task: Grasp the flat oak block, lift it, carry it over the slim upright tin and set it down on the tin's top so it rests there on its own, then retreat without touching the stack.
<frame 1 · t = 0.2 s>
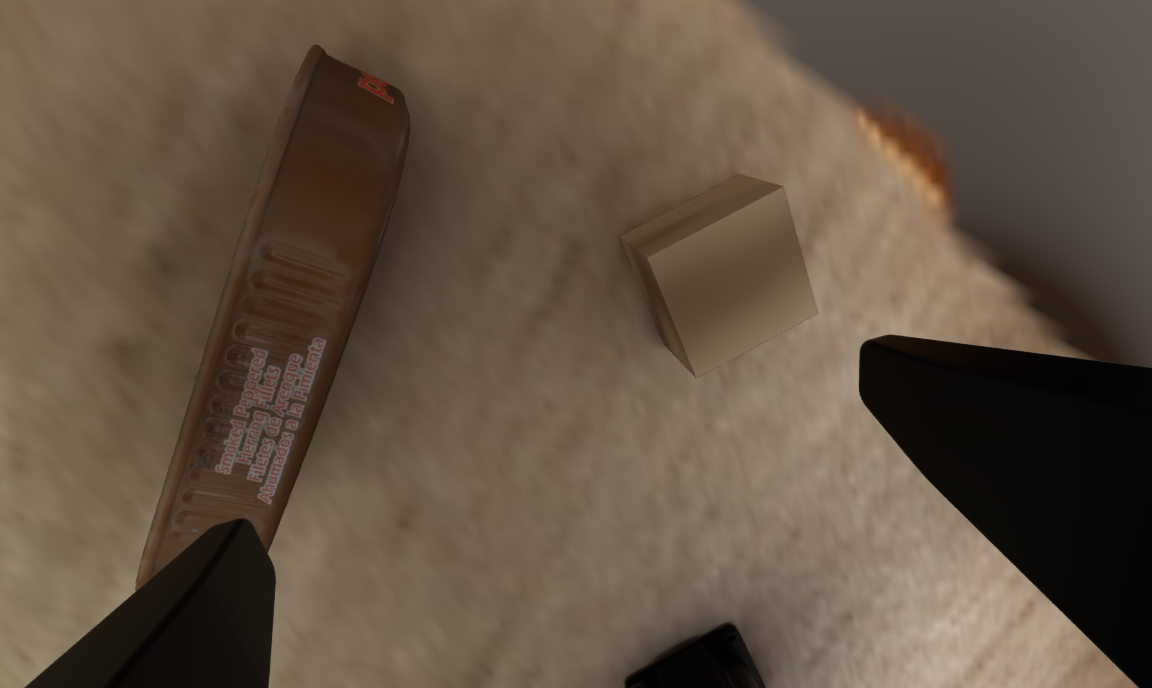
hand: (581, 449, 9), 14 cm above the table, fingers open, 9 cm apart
oak block: (698, 262, 24), on the table
tin: (301, 290, 21), on the table
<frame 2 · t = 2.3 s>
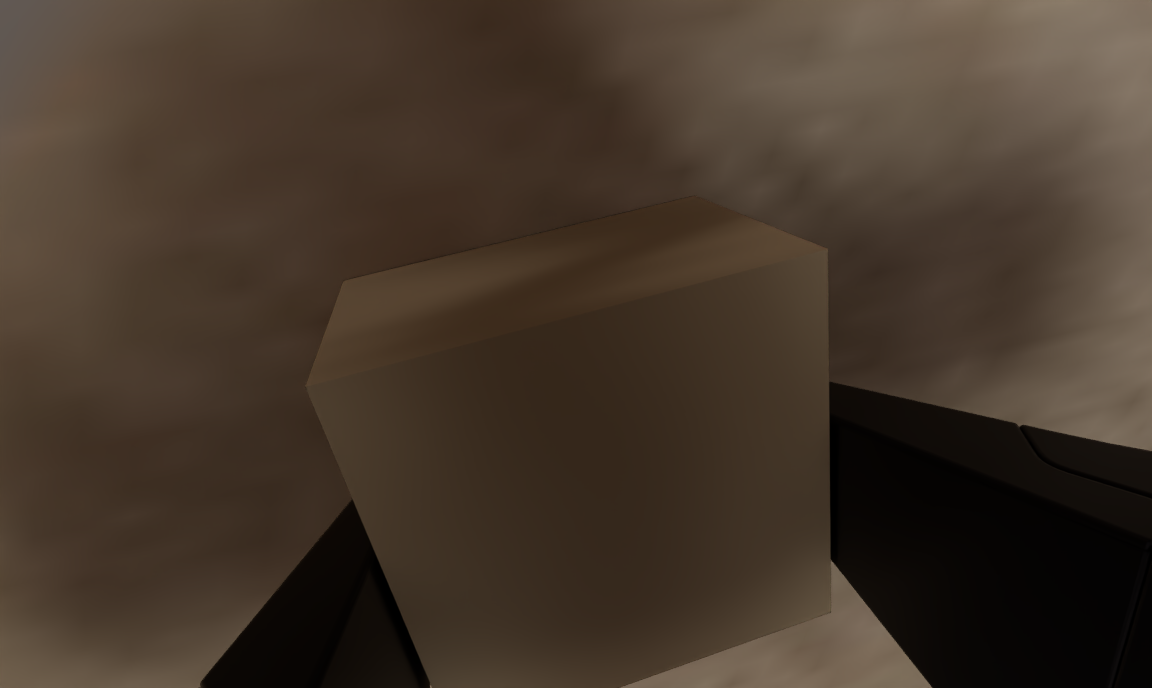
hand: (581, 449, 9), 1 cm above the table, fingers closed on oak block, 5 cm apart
oak block: (560, 391, 10), on the table, touching gripper
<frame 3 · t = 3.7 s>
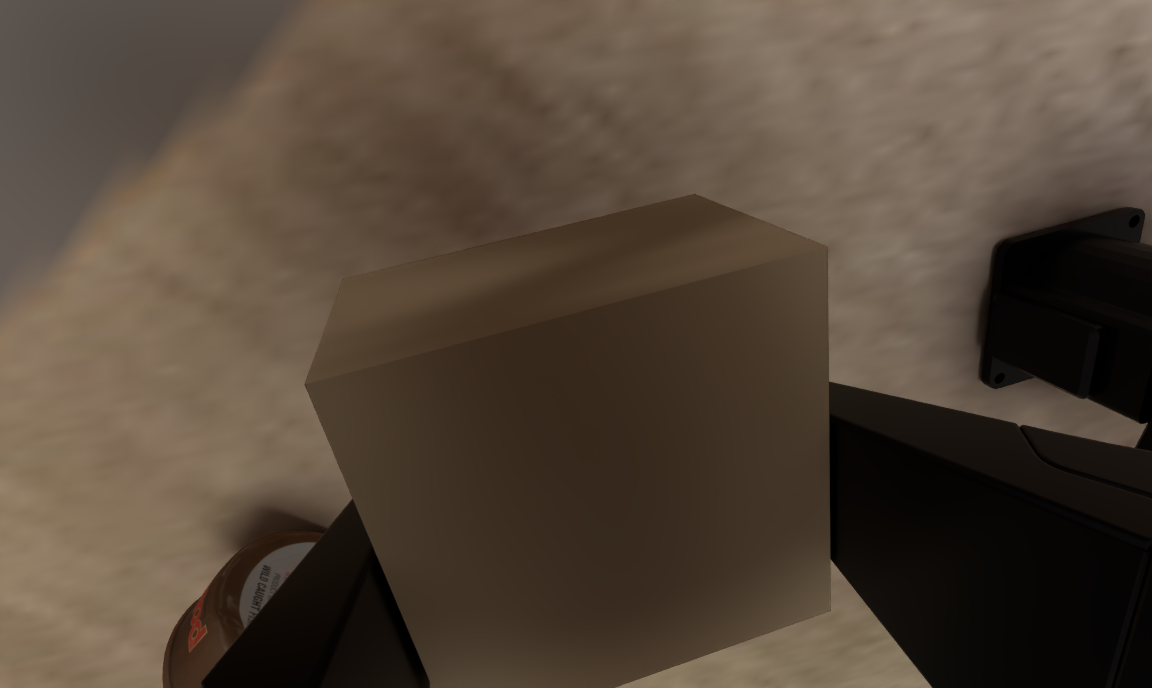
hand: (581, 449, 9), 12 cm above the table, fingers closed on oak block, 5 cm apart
oak block: (560, 390, 10), point 11 cm above the table, touching gripper
tin: (421, 587, 24), on the table
when the fingers open (10 cm above the table, at t = 5.2 s): oak block drops 1 cm, resting on tin.
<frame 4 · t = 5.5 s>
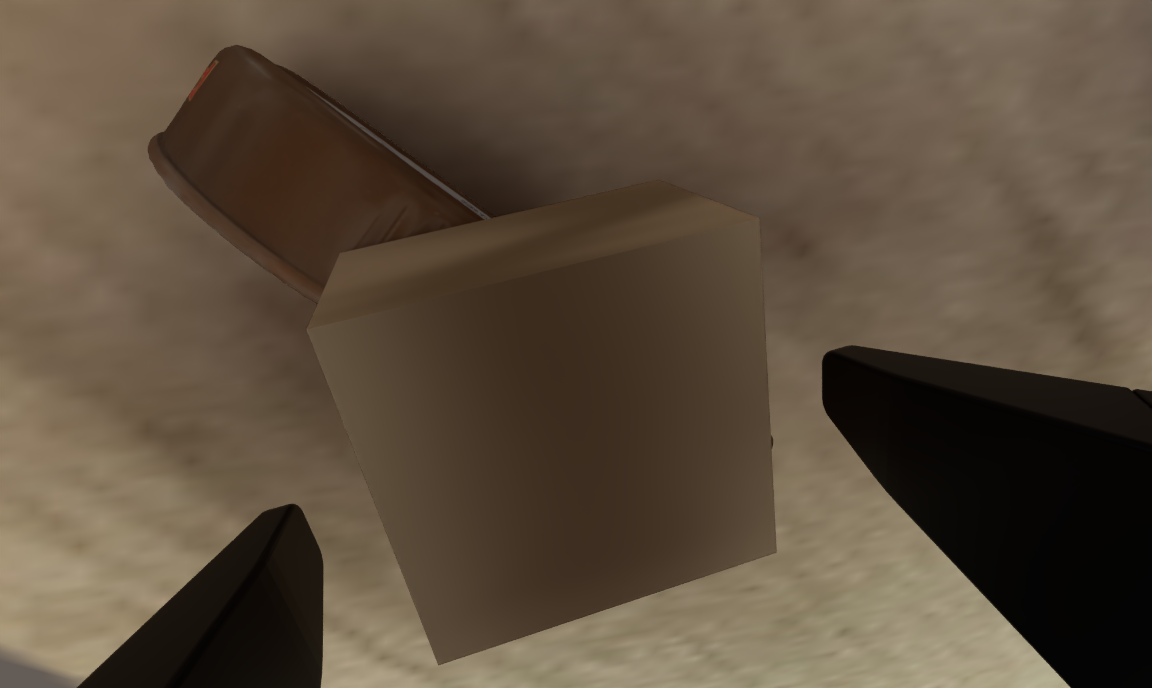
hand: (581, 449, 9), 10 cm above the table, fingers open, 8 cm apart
oak block: (537, 359, 11), point 8 cm above the table, touching tin
tin: (493, 259, 18), on the table, touching oak block
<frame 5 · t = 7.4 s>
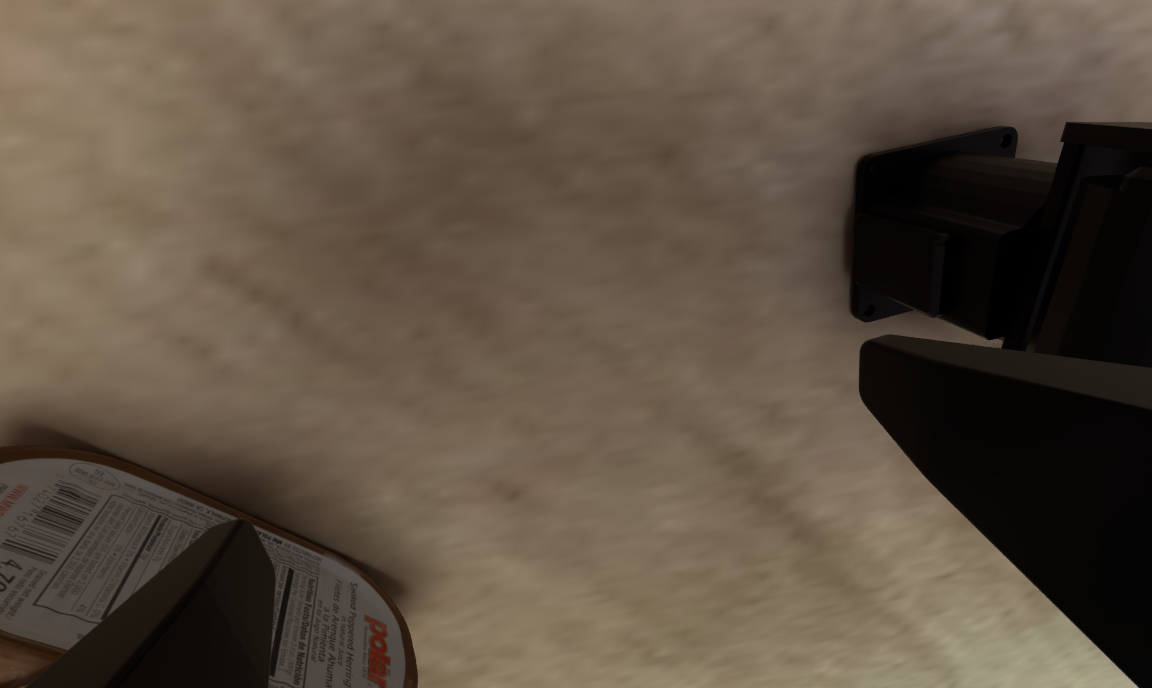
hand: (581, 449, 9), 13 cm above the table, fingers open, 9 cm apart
tin: (226, 523, 22), on the table, touching oak block
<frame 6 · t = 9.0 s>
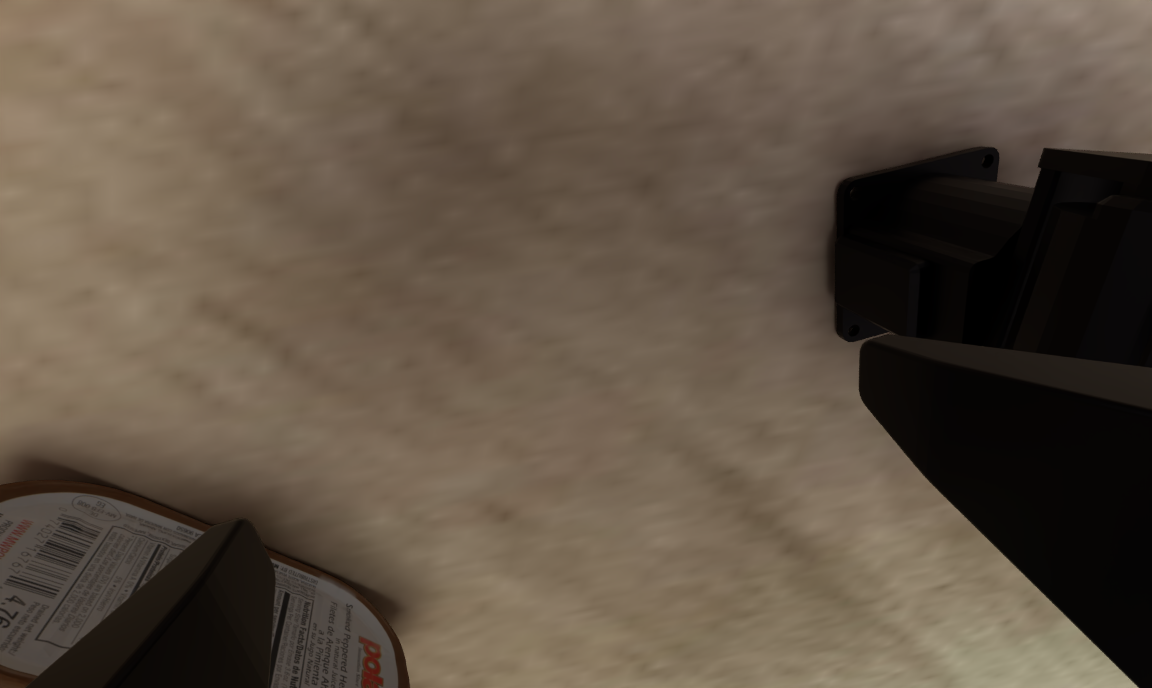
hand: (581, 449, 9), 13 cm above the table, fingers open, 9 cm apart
tin: (225, 548, 23), on the table, touching oak block
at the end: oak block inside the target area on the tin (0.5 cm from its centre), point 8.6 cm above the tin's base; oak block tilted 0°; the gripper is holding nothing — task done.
